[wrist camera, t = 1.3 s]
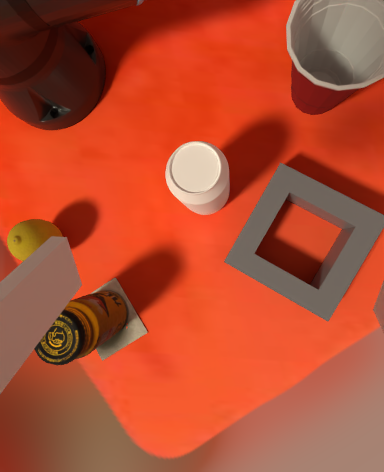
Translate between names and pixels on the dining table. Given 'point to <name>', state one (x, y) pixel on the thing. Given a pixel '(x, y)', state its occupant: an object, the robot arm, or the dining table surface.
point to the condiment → (92, 326)
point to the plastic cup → (334, 50)
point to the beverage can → (199, 177)
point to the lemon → (30, 237)
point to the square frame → (337, 260)
